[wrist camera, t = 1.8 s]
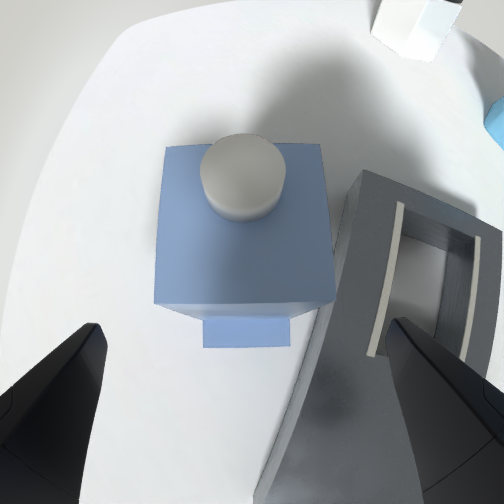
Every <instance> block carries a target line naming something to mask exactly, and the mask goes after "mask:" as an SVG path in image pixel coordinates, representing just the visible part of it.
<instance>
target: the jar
mask: <svg viewBox="0 0 504 504" xmlns="http://www.w3.org/2000/svg"><path fill="white" fill-rule="evenodd" d="M462 1H463V0H381V2H380V5H379V8H378V11H377V14H376V16H375V19H374V23H373V26H372V30H371V35H372V36H373V37H375V38H376V39H378V40H379V41H380V42H382V43H383V44H384V45H386V46H387V47H388V48H390V49H391V50H392V51H394V52H395V53H396V54H397V55H399V56H400V57H404V58H410V59H415V60H421V61H426V62H432V61H433V59H434V57H435V56H436V54H437V52H438V50H439V49H440V47H441V45H442V43H443V42H444V40H445V38H446V36H447V35H448V33H449V31H450V29H451V27H452V26H453V24H454V22H455V20H456V18H457V16H458V14H459V13H460V11H461V9H462V6H461V3H462Z"/></svg>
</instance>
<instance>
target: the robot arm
mask: <svg viewBox="0 0 504 504" xmlns="http://www.w3.org/2000/svg"><path fill="white" fill-rule="evenodd" d="M385 343H386V348H387V353H388V358H389V363H390V368H391V373H392V378H393V382H394V386H395V390H396V393H397V397H398V400H399V403H400V407H401V410H402V414H403V417H404V421H405V425H406V428H407V432H408V436H409V440H410V444H411V448H412V452H413V456H414V460H415V464H416V468H417V473H418V477H419V482H420V487H421V491H422V497H423V502H424V504H504V393H503V392H501V391H500V390H499V389H497V388H496V387H495V386H494V385H492V384H491V383H490V382H488V381H487V380H486V379H485V378H482V376H481V375H480V374H478V373H477V372H476V371H475V370H473V369H472V368H471V367H470V366H468V365H467V364H466V363H465V362H463V361H462V360H461V359H459V358H458V357H457V356H456V355H454V354H453V353H452V352H450V351H449V350H448V349H447V348H445V347H444V346H443V345H441V344H440V343H439V342H438V341H436V340H435V339H434V338H432V337H431V336H430V335H428V334H427V333H426V332H424V331H423V330H422V329H420V328H419V327H418V326H416V325H415V324H414V323H412V322H411V321H410V320H408V319H407V318H405V317H400V318H394V319H393V320H392V321H391V324H390V327H389V329H388V332H387V335H386V338H385ZM107 348H108V345H107V340H106V338H105V336H104V333H103V331H102V329H101V326H100V325H99V324H97V323H86V324H84V325H83V326H82V327H81V328H80V329H78V330H77V331H76V332H75V333H73V334H72V335H71V336H70V337H69V338H67V339H66V340H65V341H64V342H63V343H61V344H60V345H59V346H58V347H57V348H55V349H54V350H53V351H52V352H51V353H49V354H48V355H47V356H46V357H45V358H44V359H42V360H41V361H40V362H39V363H38V364H37V365H35V366H34V367H33V368H32V369H31V370H30V371H28V372H27V373H26V374H25V375H24V376H23V377H22V378H20V379H19V380H18V381H17V382H16V383H15V384H14V385H13V386H11V387H10V388H9V389H8V390H7V391H6V392H5V393H3V394H2V395H1V396H0V504H79V500H78V499H79V497H80V490H81V483H82V477H83V471H84V465H85V460H86V455H87V449H88V444H89V439H90V435H91V430H92V425H93V421H94V417H95V412H96V408H97V404H98V400H99V396H100V391H101V386H102V380H103V373H104V367H105V361H106V355H107Z"/></svg>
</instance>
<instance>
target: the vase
mask: <svg viewBox="0 0 504 504" xmlns="http://www.w3.org/2000/svg"><path fill="white" fill-rule="evenodd" d="M484 126H485V128H486V130H487V132H488V133H489V134H490V135H491V137H492V138H493V139H494V140H495V141H496V142H497V143H498V144H499V145H500V147H501V148H502V149H503V150H504V96H503V97H502V98H501V99H499V100H498V101H496V102H495V103H494V104H493V105H492V107H491V109H490V111H489V113H488V115H487V117H486V119H485V121H484Z"/></svg>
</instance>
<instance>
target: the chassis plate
mask: <svg viewBox="0 0 504 504" xmlns="http://www.w3.org/2000/svg"><path fill="white" fill-rule="evenodd" d="M400 234H404V235H406V236H409V237H412V238H414V239H417V240H419V241H422V242H425V243H427V244H430V245H432V246H435V247H437V248H440V249H442V250H445V251H447V252H448V256H447V265H446V274H445V281H444V288H443V295H442V301H441V307H440V313H439V318H438V323H437V328H436V333H435V338H434V339H435V340H436V341H438V342H439V343H440V344H441V345H443V346H444V347H445V348H447V349H448V350H449V351H450V352H452V353H453V354H454V355H456V356H457V357H458V358H459V359H461V360H462V361H463V362H465V363H466V364H467V365H468V366H470V367H471V368H472V369H473V370H475V371H476V372H477V373H478V374H480V375H481V376H482V378H486V374H487V369H488V365H489V360H490V356H491V351H492V345H493V340H494V334H495V327H496V321H497V313H498V305H499V296H500V284H501V269H502V231H500V230H499V229H497V228H495V227H493V226H491V225H489V224H487V223H485V222H483V221H481V220H479V219H478V218H476V217H474V216H472V215H470V214H467V213H465V212H463V211H461V210H459V209H457V208H455V207H453V206H451V205H449V204H446V203H444V202H442V201H440V200H438V199H435V198H433V197H431V196H429V195H426V194H424V193H422V192H420V191H417V190H415V189H412V188H410V187H408V186H405V185H403V184H400V183H398V182H395V181H393V180H390V179H388V178H385V177H383V176H380V175H377V174H375V173H372V172H369V171H367V170H364V169H363V170H362V172H361V173H360V175H359V176H358V178H357V179H356V181H355V183H354V184H353V186H352V187H351V189H350V190H349V192H348V193H347V198H346V202H345V207H344V212H343V216H342V221H341V225H340V229H339V234H338V238H337V242H336V246H335V250H334V255H333V259H334V272H335V285H336V301H334V302H331V303H329V304H326V305H324V306H321V307H320V308H319V311H318V315H317V318H316V322H315V325H314V328H313V332H312V335H311V338H310V342H309V345H308V348H307V351H306V355H305V358H304V361H303V364H302V367H301V370H300V373H299V376H298V379H297V382H296V385H295V388H294V391H293V394H292V397H291V400H290V403H289V406H288V409H287V411H286V414H285V417H284V420H283V422H282V425H281V428H280V430H279V433H278V436H277V438H276V441H275V444H274V446H273V449H272V451H271V454H270V456H269V459H268V461H267V464H266V466H265V469H264V471H263V474H262V476H261V479H260V481H259V483H258V486H257V488H256V490H255V493H254V495H253V504H424V502H423V497H422V491H421V487H420V482H419V477H418V473H417V468H416V464H415V460H414V456H413V452H412V448H411V444H410V440H409V436H408V432H407V428H406V425H405V421H404V417H403V414H402V410H401V407H400V403H399V400H398V397H397V393H396V390H395V386H394V382H393V378H392V373H391V368H390V363H389V358H388V357H387V356H382V355H378V354H375V353H376V350H377V346H378V342H379V339H380V335H381V331H382V327H383V323H384V319H385V314H386V310H387V305H388V301H389V296H390V292H391V287H392V282H393V276H394V271H395V266H396V260H397V254H398V248H399V241H400Z"/></svg>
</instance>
